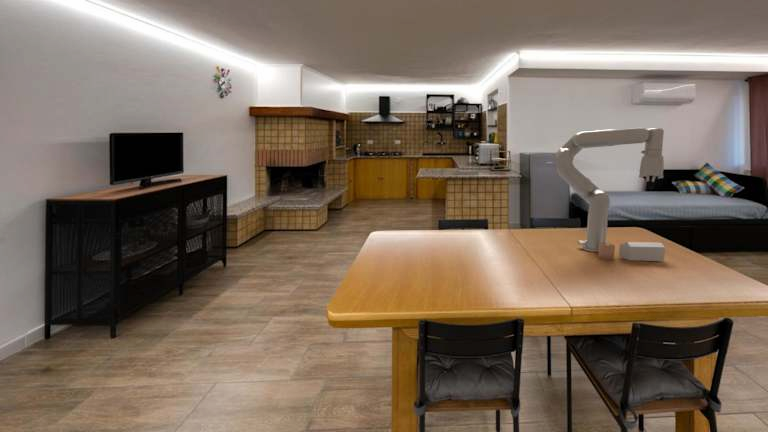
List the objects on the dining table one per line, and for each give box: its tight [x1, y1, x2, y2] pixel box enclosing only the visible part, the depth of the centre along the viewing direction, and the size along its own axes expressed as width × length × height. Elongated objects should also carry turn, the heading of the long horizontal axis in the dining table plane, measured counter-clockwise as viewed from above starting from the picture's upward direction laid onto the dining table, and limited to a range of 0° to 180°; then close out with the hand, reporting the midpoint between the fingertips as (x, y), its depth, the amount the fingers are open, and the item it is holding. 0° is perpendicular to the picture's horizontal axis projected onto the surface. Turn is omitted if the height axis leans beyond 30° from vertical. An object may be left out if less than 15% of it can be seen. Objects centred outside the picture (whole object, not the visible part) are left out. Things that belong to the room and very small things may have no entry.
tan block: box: [597, 242, 616, 261], centre depth 223 cm, size 7×7×7 cm
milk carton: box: [618, 241, 666, 262], centre depth 220 cm, size 7×7×19 cm
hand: (649, 189), depth 229 cm, fingers closed
